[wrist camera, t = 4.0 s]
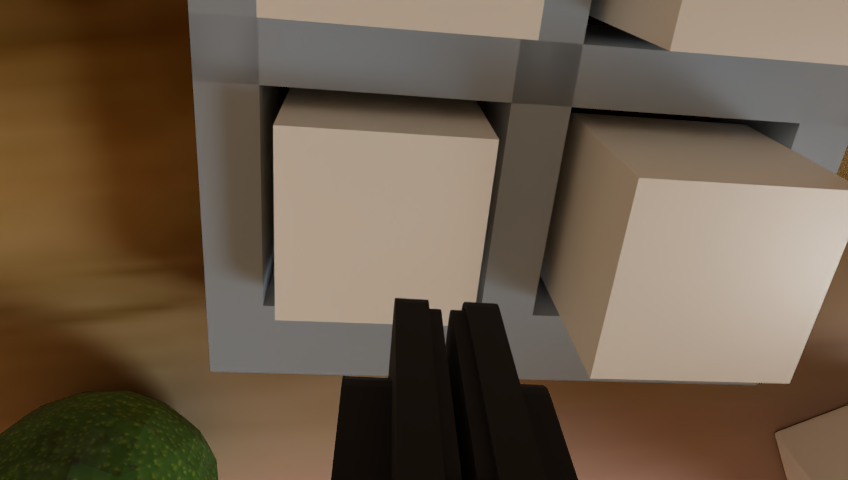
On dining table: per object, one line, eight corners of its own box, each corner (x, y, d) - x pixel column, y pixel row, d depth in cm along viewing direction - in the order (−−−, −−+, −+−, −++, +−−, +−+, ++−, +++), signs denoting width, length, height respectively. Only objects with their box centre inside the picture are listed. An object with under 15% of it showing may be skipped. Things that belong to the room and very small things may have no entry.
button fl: (468, 88, 19) (499, 139, 15) (450, 241, 22) (472, 326, 17) (295, 75, 19) (273, 125, 14) (294, 234, 21) (274, 320, 16)
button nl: (745, 124, 18) (867, 191, 14) (697, 281, 20) (789, 383, 16) (570, 112, 18) (638, 177, 13) (540, 275, 20) (590, 378, 15)
